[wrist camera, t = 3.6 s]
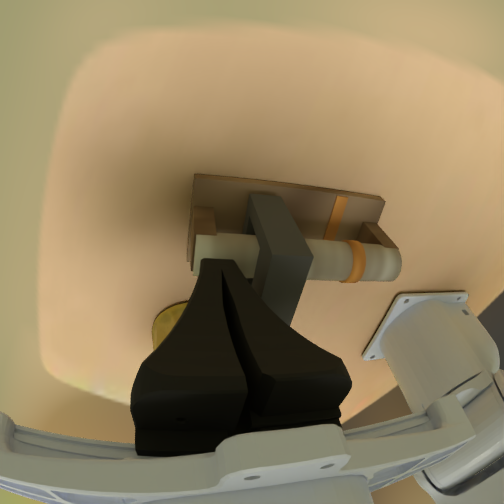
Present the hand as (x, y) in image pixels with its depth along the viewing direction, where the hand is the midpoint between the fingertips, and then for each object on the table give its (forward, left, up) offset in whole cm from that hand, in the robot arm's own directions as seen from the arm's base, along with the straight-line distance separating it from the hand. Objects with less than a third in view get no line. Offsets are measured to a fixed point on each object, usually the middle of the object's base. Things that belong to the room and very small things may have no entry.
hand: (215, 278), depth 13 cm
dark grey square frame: (-2, 0, -4) cm, 5 cm away
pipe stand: (-4, 0, -5) cm, 7 cm away
